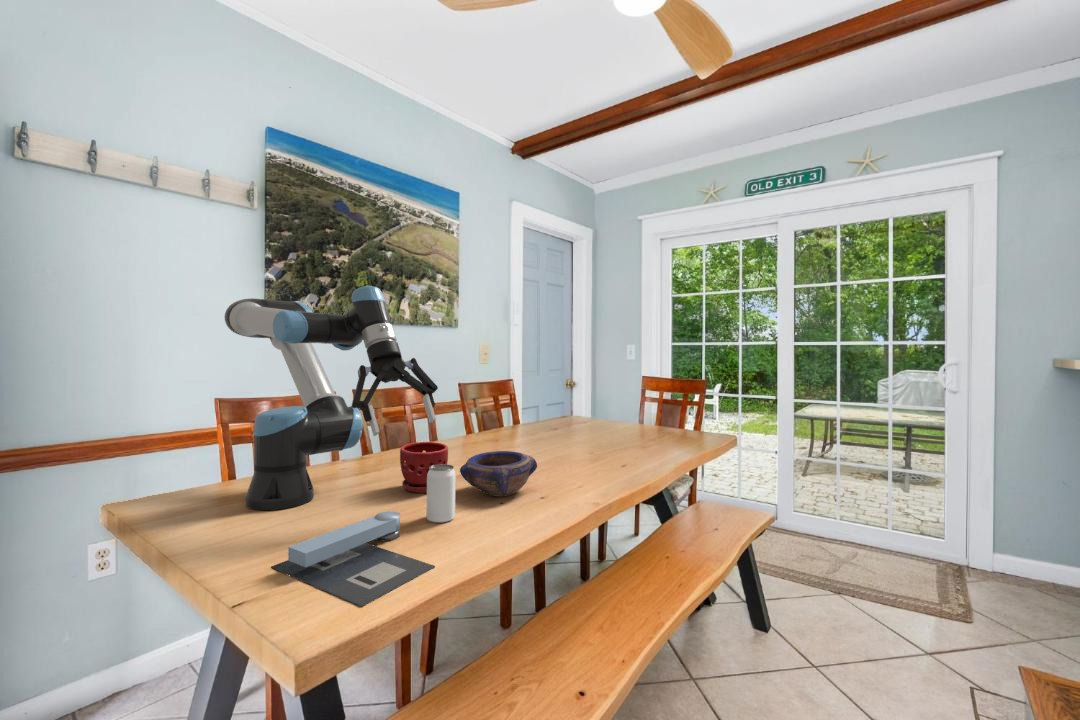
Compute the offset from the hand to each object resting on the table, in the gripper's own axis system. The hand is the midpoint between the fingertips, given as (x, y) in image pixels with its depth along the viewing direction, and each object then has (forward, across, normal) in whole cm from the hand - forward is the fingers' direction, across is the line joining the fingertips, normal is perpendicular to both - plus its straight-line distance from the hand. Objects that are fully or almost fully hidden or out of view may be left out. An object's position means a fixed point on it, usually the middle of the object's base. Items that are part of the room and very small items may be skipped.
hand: (405, 427), depth 111 cm
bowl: (+20, +25, +15) cm, 36 cm away
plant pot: (+12, +10, +27) cm, 31 cm away
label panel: (+25, -20, -10) cm, 33 cm away
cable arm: (+21, -18, -4) cm, 28 cm away
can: (+22, +4, +5) cm, 23 cm away
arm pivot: (+22, -10, 0) cm, 24 cm away
